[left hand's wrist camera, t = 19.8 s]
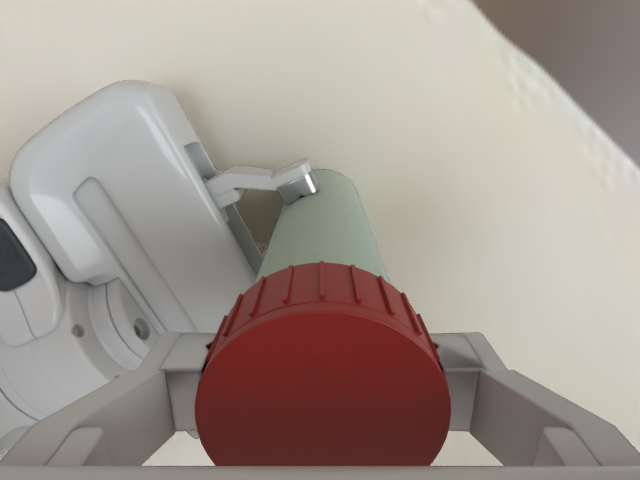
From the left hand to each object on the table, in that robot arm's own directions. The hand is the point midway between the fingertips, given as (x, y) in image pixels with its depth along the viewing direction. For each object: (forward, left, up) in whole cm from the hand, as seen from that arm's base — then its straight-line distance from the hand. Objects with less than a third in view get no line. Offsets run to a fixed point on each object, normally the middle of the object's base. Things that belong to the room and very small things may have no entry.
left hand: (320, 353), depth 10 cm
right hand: (0, -1, -10) cm, 10 cm away
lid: (0, 0, +2) cm, 2 cm away
